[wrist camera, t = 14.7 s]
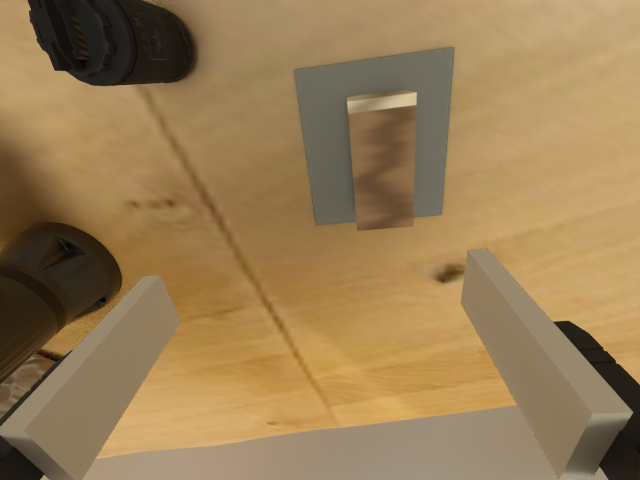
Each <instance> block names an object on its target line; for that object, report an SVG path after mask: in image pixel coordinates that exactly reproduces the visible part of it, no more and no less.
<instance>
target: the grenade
mask: <svg viewBox="0 0 640 480" xmlns="http://www.w3.org/2000/svg"><path fill="white" fill-rule="evenodd" d="M28 3H29V5H30V8H31V11H29V15H30V22H31V23H32V25H33V27H34V30H35V33H36V36H37V42H38V43H39V45H40V47H41V48H42V50H44V51H46V52H47V54H48V55H49V57H50V60H51V62H52V65H53V67H54V70H55V71H67V72H68V73H69V74H71V75H72V76H74V77H75V78H76V79H78V80H80V81H82V82H85V83H87V84H90V85H94V86H115V85H132V84H149V83H162V82H163V83H171V82H177V81H179V80H180V79H182V78H184V77H185V75H186V74H187V73H188V71H189V70H190V67H191V64H192V60H193V47H192V43H191V40H190V36H189V34H188V32H187V30H186V28H185V27H184V25H183V23H182V22H181V21H180V20H179V19H178V18H177V17H176V16H175V15H174V14H173V13H171V12H170V11H168V10H166V9H165V8H162V7H158V6H156V5H153V4H151V3H148V2H145V1H142V0H28Z"/></svg>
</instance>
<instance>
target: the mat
mask: <svg viewBox="0 0 640 480" xmlns="http://www.w3.org/2000/svg"><path fill="white" fill-rule="evenodd" d="M454 49H455V47H449V48H443V49H436V50H429V51H422V52H415V53H408V54H401V55H394V56H387V57H380V58H373V59H366V60H360V61H353V62H346V63H339V64H332V65H325V66H318V67H311V68H304V69H297V70H294V74H295V81H296V88H297V95H298V102H299V109H300V116H301V123H302V130H303V137H304V144H305V151H306V158H307V165H308V172H309V179H310V186H311V193H312V200H313V207H314V214H315V221H316V225H324V224H336V223H349V222H356V209H355V196H354V183H353V170H352V157H351V144H350V131H349V118H348V107H347V97H352V96H359V95H366V94H374V93H381V92H388V91H396V90H403V89H405V90H409V91H413V92H417V103H416V134H415V176H414V217H425V216H437V215H442V204H443V191H444V178H445V165H446V152H447V139H448V126H449V113H450V100H451V87H452V74H453V62H454Z"/></svg>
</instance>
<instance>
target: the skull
mask: <svg viewBox="0 0 640 480" xmlns="http://www.w3.org/2000/svg"><path fill="white" fill-rule="evenodd" d="M55 362H57V361H53V360H51V359H49V358H46V357H43V356H41V355H38V354H34V355H33V356H32V357H31V358H29V359H28V360H27V361H26V362H25V363H24V364H23V365H22V366H21V367H20V368H19V369H17V370H16V371H15V372H14V373H13V374H12V375H11V376H10V377H9V378H8V379H6V380H5V381H4V382H3V383H2V384H1V385H0V419H1V418H2V417H3V416H4V415H5V414H6V413H7V412H8V410H9V409H10V408H11V407H12V406H13V405H14V404H15V403H16V402H17V401H18V400H19V399H20V398H21V397H22V396H23V395H24V394H25V393H26V392H27V391H30V390H31V387H32V386H33V385H34V384H35V383H36V382H37V381H38V380H39V379H41V378H42V376H43V375H44V373H45V372H46V371H47V370H48V369H49V368H50V367H51V366H52V365H53V364H54V363H55Z"/></svg>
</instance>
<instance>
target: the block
mask: <svg viewBox="0 0 640 480" xmlns="http://www.w3.org/2000/svg"><path fill="white" fill-rule="evenodd" d="M416 103H417V92H413V91H409V90H405V89H403V90H396V91H388V92H381V93H374V94H366V95H359V96H352V97H347V107H348V118H349V131H350V144H351V157H352V170H353V183H354V196H355V209H356V222H357V231H360V230H372V229H385V228H397V227H410V226H413V218H414V176H415V134H416Z"/></svg>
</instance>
